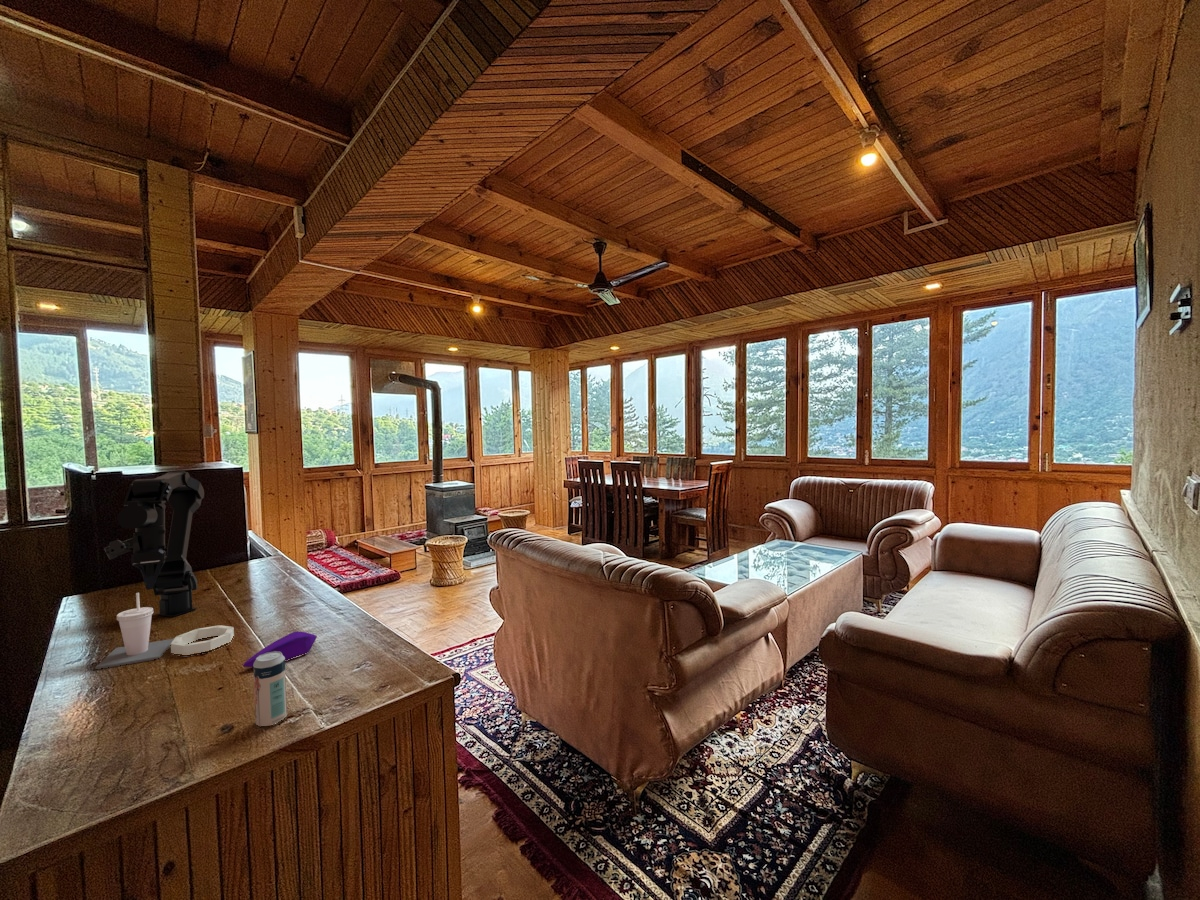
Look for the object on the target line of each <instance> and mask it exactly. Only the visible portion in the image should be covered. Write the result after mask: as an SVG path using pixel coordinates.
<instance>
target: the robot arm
mask: <svg viewBox="0 0 1200 900" xmlns="http://www.w3.org/2000/svg"><path fill="white" fill-rule="evenodd" d="M204 498H205V489H204V487H203V485H202V483H201V481H199V480H198V479H195V478H193V477H191V475H190V474H189V472H188V471H184V470H183V471H168V472H166V473H165V474H162V475H160V476H157V477H155V478H142V479H134V480H133V481H132V482H131V483H130V485H129V487H128V489H127V493H126V495H125V497H124V501H123V506H124V507H123V508H122V509H120V511H118V514H117V516H116V518H117V519H116V520H117V522H118V525H120V526H121V527H123V528H124V529H128V530H133V529H135V532H133V533H132V538H129V539H125V540H124V541H121V540H120V539H116V540H112V541H110V542H108V543H109V544H108V546H106V547H104V548H103V550H104V552H105V554H106V555H107V557H108V560H113V559H115V558H117V557H120V556H122V555H124V554H127V553H130V552H132V554H131V555H130V564H131V565H132V566H133V567H135V568H136V569H138V570H140V573H141V575H142V579H143V584H144V586H145V589H146V590H149V591H150V590H153V594H154V597H155V596H156V597H157V596H160V599H159V600H158V603H159V604H158V606H159V609H158V610H159V612H158V613H157V616H163V617H170V618H171V617H172V618H174V617H177V616H180V615H183V614H186V613H189V612H192V611H195V610H197V607H194V606H193V592H192V591H195V590H198V580H197V577H196V576H195V574H194V571H193V568H192V566H191V565H190V563H189V562H188V560H187V555H188V548H189V544H190V543H189V541H190V535H191V529H192V528H191V527H192V522H193V521H192V520H193V514H194V513H195V512H196V511H197V510H198V509H199V508H201V505H202V500H203V499H204ZM166 503H168V505H169V507H170V508H171V509H172V516H171V517H172V518H171V523H170V529H169V535H168V542H167V546H166V508H167V505H166Z"/></svg>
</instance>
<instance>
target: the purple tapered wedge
mask: <svg viewBox="0 0 1200 900" xmlns="http://www.w3.org/2000/svg"><path fill="white" fill-rule="evenodd" d="M316 639H317V635H315V634H313V633H309V632H307V631H306V632H305V631H293V632H291V633H289V634H286V635H285V636H283V637H281V638H279V639H277V640H275V641H274V642H271V643H270V644H269V645H267V646H265V647H264V648H262V649H260V650H259V651H258V652H256V653H255V654H254V655H253V656H251V657H249V658H248V659H247V660H246V661H244V663H243V664H242V667H244V668H253V664H254V662H255V660H256V658H257V657H258V656H260V655H262V654H265V653H268V652H274V651H277V652H281V653H282V655H283V656H284V657H285V660H288V659H291V658H293V657H296V656H299V655H302V654H305V653H307V652H308V653H309V651H310V650H312V647H313V645H314V643H315V641H316ZM308 653H307V654H308Z"/></svg>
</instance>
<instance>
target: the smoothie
mask: <svg viewBox="0 0 1200 900" xmlns="http://www.w3.org/2000/svg"><path fill="white" fill-rule="evenodd" d="M135 598H136V599H135V601H136V607H135V608H131V609H127V610H124V611H121V612H119V613H117V615H116V621H118V625H119V627H120V631H121V637H122V640H123V645H124V647H125V649H126V654H127V655H137V654H140V653H143V652H146V651H147V650H148V644H149V643H150V636H151V634H150V633H151V625H152V616H153V614H154V608H153V607H152V606H151V607H150V606H144V607H141V603H140V601H141V600H140V592H136V593H135Z"/></svg>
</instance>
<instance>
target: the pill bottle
mask: <svg viewBox="0 0 1200 900" xmlns="http://www.w3.org/2000/svg"><path fill="white" fill-rule="evenodd" d="M252 668H253V681H254V682H253V686H254V688H253V689H254V690H253V691H254V709H255V711H254V712H255V714H254V715H255V725H256V726H257V725H258V727H261V726H266V725H270V724H275V723H277V722H279V721H281V720H282V721H283V720H285V719H286V718H285V717H287V716H288V702H287V684H286V683H287V682H286V681H287V680H286V679H287V678H286V662H285V657H284V656H283V655H282V653H281V652H277V651H274V652H268V653H265V654H262V655H260V656H258V657H257V658H256V660H255V662H254V664H253V667H252ZM284 718H285V719H284ZM282 721H281V722H282Z"/></svg>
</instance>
